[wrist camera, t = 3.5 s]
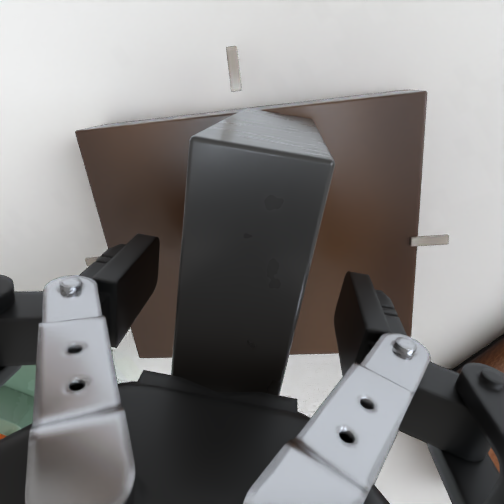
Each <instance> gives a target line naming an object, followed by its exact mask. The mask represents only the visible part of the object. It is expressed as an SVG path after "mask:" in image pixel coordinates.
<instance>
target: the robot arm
mask: <svg viewBox="0 0 504 504" xmlns="http://www.w3.org/2000/svg"><path fill="white" fill-rule="evenodd" d="M159 249H160V240H159V238H158V237H155V236H149V235H144V234H136V235H135V236H134V237H133V238H132V239H131V240H130V241H129V242H128V243H127V244H119V245H116V246H114V247H111V248H109V249H108V250H107V251H106V252H104V253H103V254H102V256H100V257H99V258H98V259H97V260H96V262H93V263H92V264H91V265H90V266H89V267H88V268H87V269H86V270H84V271H83V272H82V273H81V274H80V275H79V276H78V275H71V276H64V277H59V278H56V279H54V280H52V281H50V282H49V283H47V284H46V285H45V287H44V291H39V292H14V284H13V281H12V279H10V278H9V277H7V276H3V275H0V387H1V386H3V385H4V384H5V383H6V382H7V381H8V380H9V379H10V378H11V377H12V376H13V375H14V374H15V373H16V372H17V371H18V370H19V369H20V368H21V367H22V365H36V374H35V390H34V406H33V422H32V423H31V424H29V425H27V426H26V427H24V428H22V429H20V430H18V431H16V432H14V433H12V434H10V435H8V436H6V437H4V438H2V439H0V504H390V503H389V502H388V501H387V500H386V498H385V497H384V496H383V495H382V494H381V492H380V491H379V490H378V489H377V488H376V486H375V485H374V484H375V482H376V480H377V478H378V475H379V473H380V471H381V469H382V467H383V464H384V462H385V460H386V458H387V456H388V454H389V451H390V449H391V447H392V445H393V443H394V440H395V438H396V436H397V434H398V432H399V431H401V432H403V433H406V434H408V435H410V436H412V437H415V438H417V439H419V440H421V441H423V442H426V443H427V445H428V449H429V451H430V453H431V456H432V458H433V460H434V463H435V465H436V467H437V470H438V472H439V474H440V477H441V479H442V481H443V484H444V486H445V488H446V491H447V493H448V495H449V498H450V500H451V502H452V504H504V373H502V372H501V371H499V370H497V369H495V368H493V367H490V366H488V365H485V364H481V363H467V364H465V365H464V366H463V368H462V370H461V372H460V374H459V373H457V372H454V371H451V370H449V369H446V368H444V367H441V366H439V365H436V364H434V363H432V362H430V354H429V352H428V350H427V349H426V348H425V347H424V346H423V345H422V344H421V343H420V342H418V341H417V340H415V339H413V338H411V337H409V336H407V334H406V332H405V329H404V327H403V325H402V323H401V321H400V318H399V317H398V314H397V312H396V310H395V307H394V305H393V303H392V301H391V299H390V298H389V297H388V296H387V295H386V294H385V293H384V292H383V291H381V290H376V289H374V286H373V284H372V281H371V279H370V276H369V275H367V274H361V273H356V272H350V271H348V272H347V273H346V275H345V277H344V281H343V284H342V288H341V291H340V295H339V298H338V302H337V305H336V309H335V314H334V328H335V334H336V340H337V346H338V351H339V357H340V363H341V369H342V375H343V377H342V379H341V380H340V381H339V382H338V384H337V385H336V386H335V388H334V389H333V390H332V392H331V393H330V394H329V395H328V397H327V398H326V399H325V401H324V402H323V403H322V404H321V406H320V407H319V408H318V410H317V411H316V412H315V414H314V415H313V416H312V417H311V418H310V417H308V416H306V415H304V414H302V413H299V412H297V399H294V398H289V397H284V396H278V395H273V394H268V393H262V392H216V391H213V390H211V389H208V388H206V387H204V386H201V385H199V384H196V383H194V382H191V381H189V380H187V379H184V378H182V377H177V376H172V375H167V374H161V373H156V372H151V371H145V370H143V372H142V374H141V376H140V378H139V380H138V382H125V383H119V384H118V383H117V378H116V372H115V367H114V361H113V356H112V350H111V347H115V348H117V346H118V345H119V343H120V342H121V340H122V339H123V337H124V336H125V334H126V333H127V331H128V330H129V328H130V327H131V325H132V324H133V322H134V321H135V319H136V318H137V316H138V315H139V313H140V312H141V310H142V309H143V307H144V306H145V304H146V303H147V301H148V300H149V298H150V297H151V295H152V294H153V292H154V290H155V288H156V285H157V280H158V270H159ZM491 448H492V450H493V451H494V453H495V455H496V457H497V459H498V462H499V467H500V473H499V471H498V470H497V468H496V466H495V465H494V463H493V461H492V459H491V458H490V456H489V454H488V452H489V450H490V449H491Z"/></svg>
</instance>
